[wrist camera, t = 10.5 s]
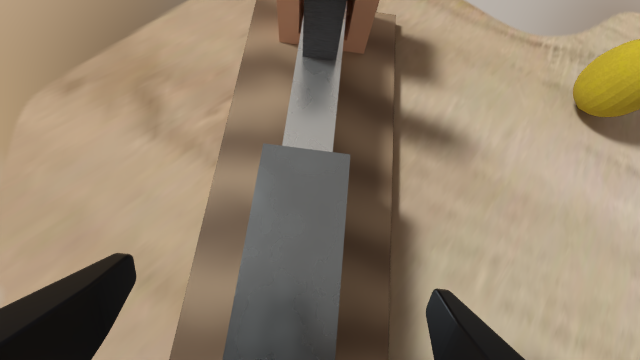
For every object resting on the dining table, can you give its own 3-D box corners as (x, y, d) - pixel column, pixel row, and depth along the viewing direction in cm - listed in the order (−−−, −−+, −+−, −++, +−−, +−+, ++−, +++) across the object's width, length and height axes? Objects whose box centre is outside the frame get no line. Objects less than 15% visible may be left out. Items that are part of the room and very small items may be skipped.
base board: (382, 415, 19) (386, 422, 18) (166, 394, 19) (159, 400, 18) (392, 23, 31) (395, 15, 30) (258, 3, 30) (257, -6, 29)
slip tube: (316, 280, 19) (338, 276, 9) (266, 275, 19) (234, 264, 9) (343, 14, 27) (371, -144, 17) (308, 9, 27) (315, -154, 17)
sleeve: (318, 396, 19) (328, 446, 13) (235, 388, 18) (208, 435, 13) (337, 186, 23) (350, 154, 18) (271, 178, 23) (263, 143, 17)
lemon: (566, 135, 28) (666, 79, 20) (543, 86, 30) (627, 18, 22) (617, 129, 29) (731, 73, 21) (591, 81, 30) (688, 14, 23)
